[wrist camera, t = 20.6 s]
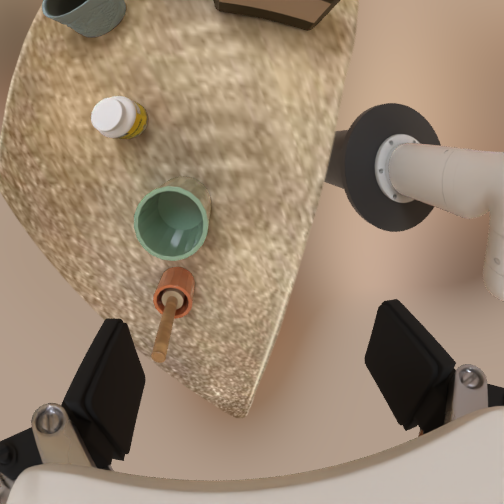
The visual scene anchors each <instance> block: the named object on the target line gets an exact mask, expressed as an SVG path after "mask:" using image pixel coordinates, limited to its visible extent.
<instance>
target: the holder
mask: <svg viewBox="0 0 504 504" xmlns="http://www.w3.org/2000/svg"><path fill="white" fill-rule="evenodd" d="M194 287H195V281H194V278H193V276H192V274H191V273H190V272H189V271H187V270H186V269H184V268H181V267H172V268H169V269H167V270H166V271H165V272H164V273H163V274H162V276H161V278H160V281H159V283H158V286H157V288H156V291H155V293H154V298H153V302H154V305H155V308H156V309H157V310H158V311H159V312H160V313H161V314H163V311H164V308H165V306H164V305H163V303H162V295H163V292H164V289H165V288H176V289H179V290H180V291H182V292H183V293H184V294H185V296H184V301H183V305H182V306H181V307H180V308H179V309H176V312H175V316H174V318H181V317H183V316H185V315H187V314H188V313H189V311H190V310H191V308H192V301H193V294H194Z"/></svg>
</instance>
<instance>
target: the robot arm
mask: <svg viewBox="0 0 504 504" xmlns="http://www.w3.org/2000/svg"><path fill="white" fill-rule="evenodd" d="M375 175H376V180H377V183H378V185H379V187H380V189H381V191H382V192H383V193H384V194H385V195H386V196H387V197H388V198H389V199H391V200H393V201H396V202H399V203H407V202H410V201H413V200H414V199H416V200H418V201H421V202H424V203H427V204H429V205H432V206H435V207H437V208H440V209H442V210H445V211H447V212H450V213H453V214H455V215H457V216H460V217H463V218H468V219H472V218H477V217H480V216H482V215H484V214H485V213H487V212H489V211H490V220H489V234H488V242H487V248H486V254H485V261H484V268H483V280H484V284H485V286H486V288H487V290H488V291H489V292H490V293H491V294H492V295H493V296H494V297H496V298H497V299H499V300H501V301H503V302H504V152H488V151H479V150H471V149H464V148H463V149H462V148H455V147H447V146H438V145H427V144H420V143H419V142H418V141H417V140H416V139H414V138H413V137H411V136H409V135H404V134H396V135H393V136H391V137H389V138H387V139H386V140H385V141H384V142H383V143H382V144H381V146H380V147H379V150H378V152H377V155H376V159H375ZM365 364H366V366H367V368H368V370H369V371H370V373H371V375H372V377H373V378H374V380H375V382H376V383H377V385H378V387H379V389H380V391H381V393H382V394H383V396H384V398H385V400H386V401H387V403H388V405H389V407H390V409H391V411H392V412H393V414H394V416H395V418H396V419H397V422H398V423H399V424H400V425H403V427H404V429H405V430H406V431H407V430H409V429H411V428H414V427H416V426H417V425H419V427H420V432H419V436H418V438H415V439H413V440H410V441H408V442H406V443H403V444H400V445H398V446H395V447H393V448H390V449H387V450H385V451H382V452H379V453H376V454H373V455H370V456H367V457H364V458H360V459H357V460H354V461H350V462H347V463H343V464H339V465H336V466H331V467H327V468H322V469H318V470H313V471H308V472H303V473H297V474H291V475H284V476H276V477H268V478H259V479H245V480H226V481H225V480H223V481H200V480H198V481H197V480H178V479H166V478H156V477H147V476H139V475H131V474H126V473H120V472H115V471H114V470H113V469H112V467H111V466H110V465H111V462H112V459H116V460H122V461H124V456H125V454H128V453H129V451H130V446H131V442H132V436H133V432H134V427H135V423H136V418H137V414H138V410H139V406H140V401H141V397H142V393H143V389H144V385H145V374H144V371H143V369H142V366H141V363H140V361H139V358H138V355H137V352H136V349H135V346H134V343H133V340H132V337H131V334H130V331H129V328H128V325H127V323H123V321H122V319H106V320H105V321H104V323H103V325H102V326H101V328H100V330H99V331H98V333H97V335H96V337H95V339H94V341H93V343H92V344H91V346H90V348H89V350H88V352H87V353H86V356H85V357H84V359H83V361H82V363H81V365H80V367H79V369H78V371H77V373H76V375H75V377H74V379H73V381H72V383H71V385H70V387H69V389H68V391H67V393H66V395H65V398H64V400H63V402H62V405H58V404H56V403H48V404H44V405H42V406H40V407H39V408H38V409H37V410H36V411H35V412H34V414H33V416H32V420H31V423H32V427H31V428H29V429H27V430H25V431H22V432H20V433H18V434H16V435H14V436H11V437H9V438H7V439H4V440H2V441H0V504H504V388H502V387H498V386H494V385H490V384H487V379H486V376H485V374H484V372H483V371H482V370H481V369H480V368H478V367H476V366H473V365H470V364H465V365H461V366H460V367H458V369H457V370H455V369H454V366H455V364H456V362H455V361H454V360H453V359H452V358H451V357H450V355H449V354H448V353H447V352H446V351H445V350H444V348H443V347H442V346H441V345H440V344H439V343H438V342H437V341H436V340H435V338H434V337H433V336H432V335H431V334H430V333H429V332H428V331H427V330H426V329H425V328H424V326H423V325H421V323H420V322H419V321H418V320H417V319H416V318H415V317H414V316H413V315H412V314H411V313H410V312H409V311H408V309H407V308H405V306H404V305H403V304H402V303H401V302H400V301H399V300H397V299H394V300H389V301H384V302H383V303H382V305H380V306H379V308H378V311H377V315H376V319H375V323H374V327H373V330H372V334H371V338H370V341H369V344H368V348H367V351H366V354H365Z"/></svg>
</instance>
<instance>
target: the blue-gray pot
mask: <svg viewBox="0 0 504 504" xmlns="http://www.w3.org/2000/svg"><path fill="white" fill-rule="evenodd" d="M42 10H43V13H44V15H45V16H47V17H49V18H51V19H53V20H55V21H58V22H60V23H62V24H66V25H67V26H68V27H71V28H72V29H74V30H75V31H76V32H78V33H80V34H82V35H83V36H86V37H98V36H101V35H103V34H106V33H107V32H109V31H111V30H112V29H113V28H114V27H116V26H117V25H118V24H119V23H120V21H121V20H122V18H123V17H124V15H125V11H126V5H125V2H124V0H43V3H42Z"/></svg>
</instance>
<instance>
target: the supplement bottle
mask: <svg viewBox="0 0 504 504" xmlns="http://www.w3.org/2000/svg"><path fill="white" fill-rule="evenodd" d="M91 121H92V124H93V126H94V127H95V128H96V129H97V130H99V132H100V133H101V134H102V135H104V136H106V137H109V138H120V139H131V138H135V137H137V136H139V135H140V134H141V133H142V132H143V131H144V130H145V128H146V126H147V123H148V115H147V112H146V110H145V109H144V107H143V106H141V105H140V104H138V103H136V102H134V101H132V100H130V99H128V98H126V97H123V96H114V97H111V98H105V99H103V100H101V101H99V102H98V103H97V104H96V105H95V107H94V109H93V111H92V115H91Z"/></svg>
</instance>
